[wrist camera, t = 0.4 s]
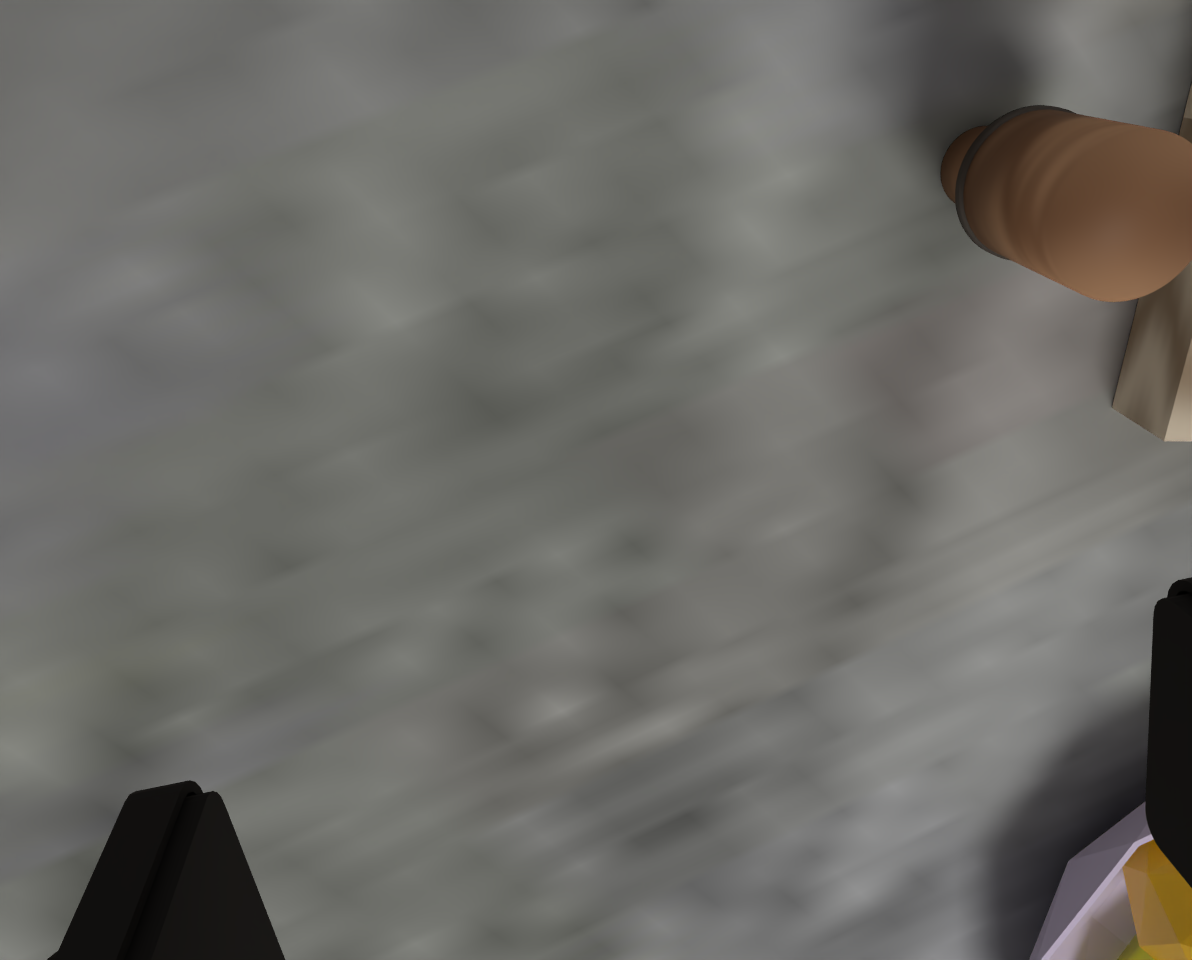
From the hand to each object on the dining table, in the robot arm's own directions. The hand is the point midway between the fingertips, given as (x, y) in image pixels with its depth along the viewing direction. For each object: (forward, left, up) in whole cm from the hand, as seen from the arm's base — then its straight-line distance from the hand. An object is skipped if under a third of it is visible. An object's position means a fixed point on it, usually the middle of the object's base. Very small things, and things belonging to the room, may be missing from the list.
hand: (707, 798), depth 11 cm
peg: (-2, +18, -34) cm, 39 cm away
